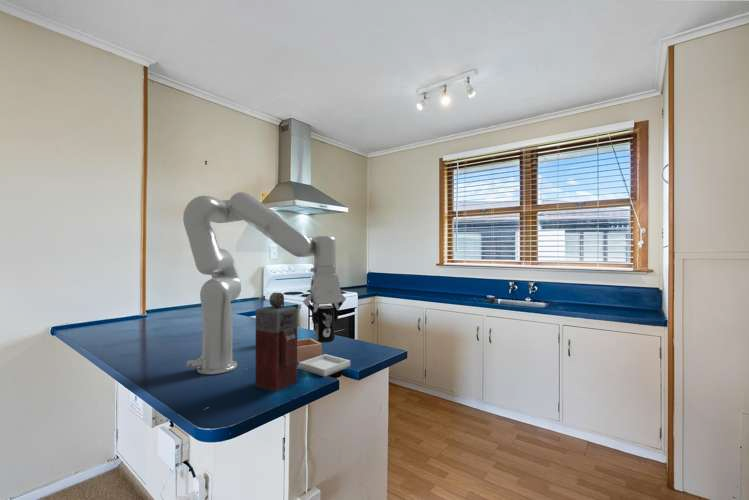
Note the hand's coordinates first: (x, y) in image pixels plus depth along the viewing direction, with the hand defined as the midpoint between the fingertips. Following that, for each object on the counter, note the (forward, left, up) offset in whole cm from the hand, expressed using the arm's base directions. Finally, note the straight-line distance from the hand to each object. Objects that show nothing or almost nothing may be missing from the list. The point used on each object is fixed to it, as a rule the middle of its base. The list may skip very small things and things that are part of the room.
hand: (325, 321), depth 121 cm
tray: (0, 0, -16) cm, 16 cm away
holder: (-2, +16, -16) cm, 23 cm away
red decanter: (-18, -7, -16) cm, 25 cm away
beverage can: (0, 0, -7) cm, 7 cm away
